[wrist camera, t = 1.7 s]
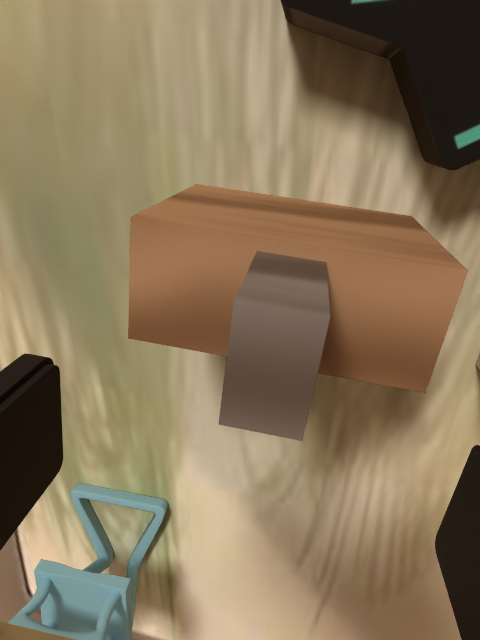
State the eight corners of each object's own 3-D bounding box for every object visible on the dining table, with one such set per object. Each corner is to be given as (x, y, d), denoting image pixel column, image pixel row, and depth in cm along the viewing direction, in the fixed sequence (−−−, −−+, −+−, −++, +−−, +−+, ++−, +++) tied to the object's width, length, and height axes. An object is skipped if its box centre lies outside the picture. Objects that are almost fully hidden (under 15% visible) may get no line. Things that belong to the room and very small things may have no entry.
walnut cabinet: (196, 184, 25) (60, 252, 12) (411, 216, 24) (531, 331, 11) (189, 267, 28) (67, 407, 14) (387, 300, 26) (464, 487, 13)
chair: (81, 552, 40) (-7, 714, 29) (75, 481, 36) (-28, 635, 25) (166, 569, 39) (107, 743, 28) (168, 499, 35) (102, 666, 25)
